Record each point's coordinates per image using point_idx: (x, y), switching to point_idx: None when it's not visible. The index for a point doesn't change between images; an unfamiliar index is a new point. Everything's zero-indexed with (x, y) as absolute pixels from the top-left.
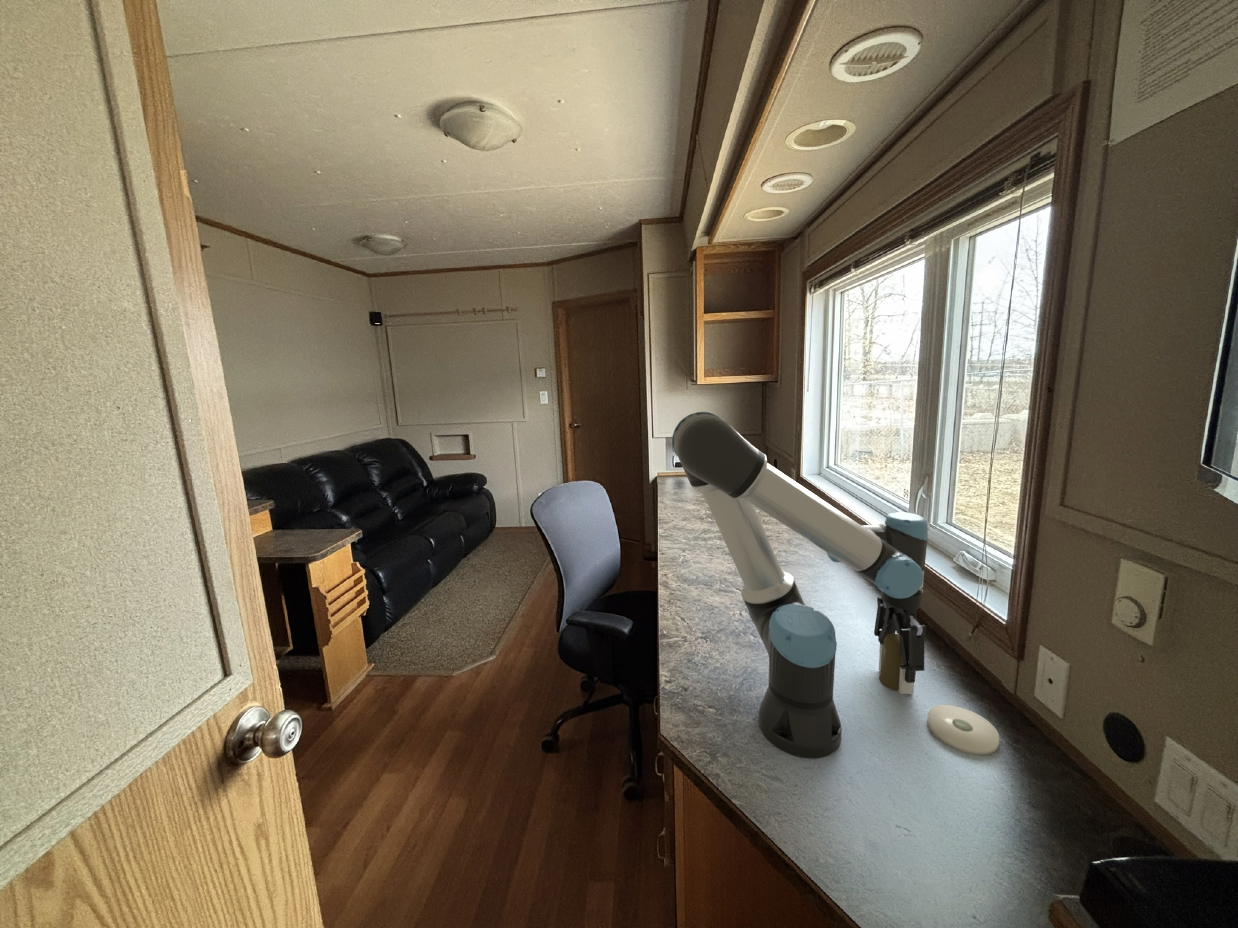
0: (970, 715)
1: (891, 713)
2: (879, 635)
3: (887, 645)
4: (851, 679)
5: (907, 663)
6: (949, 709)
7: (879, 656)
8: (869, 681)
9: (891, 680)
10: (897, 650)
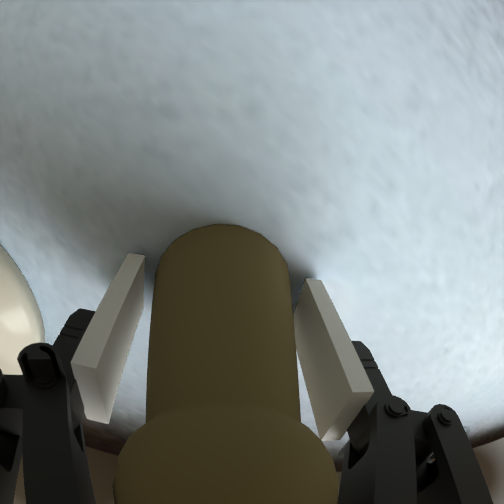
0: (4, 366)
1: (31, 128)
2: (412, 435)
3: (209, 459)
4: (303, 90)
5: (25, 400)
6: (15, 339)
7: (343, 327)
8: (259, 174)
9: (175, 264)
10: (126, 462)
